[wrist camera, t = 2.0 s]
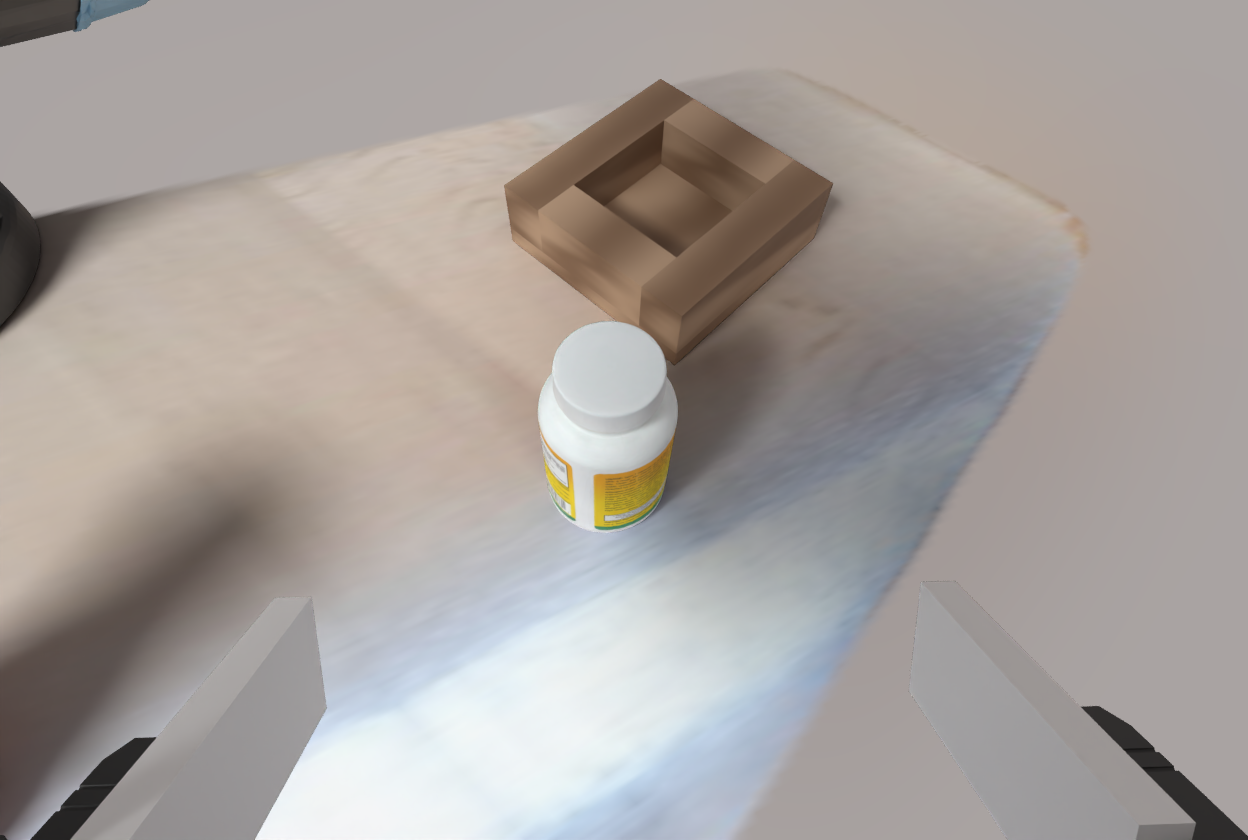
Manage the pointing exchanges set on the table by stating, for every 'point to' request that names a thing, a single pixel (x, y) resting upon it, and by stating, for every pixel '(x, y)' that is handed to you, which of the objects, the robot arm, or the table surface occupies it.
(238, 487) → the table surface
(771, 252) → the socket block
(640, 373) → the supplement bottle
